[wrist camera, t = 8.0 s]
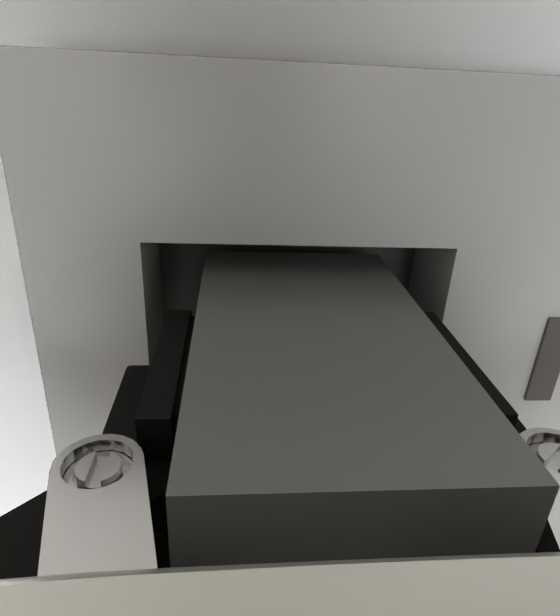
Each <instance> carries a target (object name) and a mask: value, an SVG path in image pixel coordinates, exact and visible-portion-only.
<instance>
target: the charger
mask: <svg viewBox="0 0 560 616" xmlns="http://www.w3.org/2000/svg"><path fill="white" fill-rule="evenodd" d="M559 488H560V485H559V484H558V482H557V481H556V480H555V479H554V477H553V476H552V475H551V474H550V472H549V471H548V470H547V468H546V467H545V466H544V465H543V463H542V462H541V461H540V460H539V458H538V457H537V456H536V454H535V453H534V452H533V451H532V449H531V448H530V447H529V446H528V444H527V443H526V442H525V440H524V439H523V438H522V437H521V435H520V434H519V433H518V432H517V430H516V429H515V428H514V426H513V425H512V424H511V423H510V421H509V420H508V419H507V418H506V416H505V415H504V414H503V412H502V411H501V410H500V409H499V407H498V406H497V405H496V404H495V402H494V401H493V400H492V398H491V397H490V396H489V395H488V393H487V392H486V391H485V390H484V388H483V387H482V386H481V384H480V383H479V382H478V381H477V379H476V378H475V377H474V376H473V374H472V373H471V372H470V370H469V369H468V368H467V367H466V365H465V364H464V363H463V361H462V360H461V359H460V358H459V356H458V355H457V354H456V353H455V351H454V350H453V349H452V347H451V346H450V345H449V344H448V342H447V341H446V340H445V339H444V337H443V336H442V335H441V333H440V332H439V331H438V330H437V328H436V327H435V326H434V325H433V323H432V322H431V321H430V319H429V318H428V317H427V316H426V314H425V313H424V312H423V311H422V309H421V308H420V307H419V305H418V304H417V303H416V302H415V300H414V299H413V298H412V297H411V295H410V294H409V293H408V291H407V290H406V289H405V288H404V286H403V285H402V284H401V283H400V281H399V280H398V279H397V277H396V276H395V275H394V274H393V272H392V271H391V270H390V269H389V267H388V266H387V265H386V263H385V262H384V261H383V260H382V258H381V257H380V256H379V255H378V254H347V253H292V252H238V251H206V255H205V261H204V267H203V273H202V279H201V285H200V291H199V297H198V303H197V309H196V315H195V321H194V327H193V333H192V339H191V345H190V351H189V357H188V364H187V370H186V376H185V382H184V388H183V394H182V400H181V406H180V412H179V418H178V424H177V430H176V436H175V442H174V448H173V454H172V460H171V466H170V472H169V479H168V485H167V491H166V510H167V525H168V540H169V554H170V568H174V567H196V566H218V565H240V564H262V563H284V562H306V561H330V560H355V559H379V558H404V557H430V556H456V555H482V554H510V553H535V551H536V548H537V546H538V543H539V541H540V538H541V535H542V533H543V530H544V527H545V525H546V522H547V519H548V517H549V514H550V511H551V509H552V506H553V504H554V501H555V498H556V496H557V493H558V490H559Z"/></svg>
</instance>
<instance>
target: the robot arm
mask: <svg viewBox="0 0 560 616" xmlns="http://www.w3.org/2000/svg"><path fill="white" fill-rule="evenodd" d="M424 313H425V314H426V316H427V317H428V318H429V319H430V321H431V322H432V323H433V325H434V326H435V327H436V328H437V330H438V331H439V332H440V333H441V335H442V336H443V337H444V339H445V340H446V341H447V342H448V344H449V345H450V346H451V347H452V349H453V350H454V351H455V353H456V354H457V355H458V356H459V358H460V359H461V360H462V361H463V363H464V364H465V365H466V367H467V368H468V369H469V370H470V372H471V373H472V374H473V376H474V377H475V378H476V379H477V381H478V382H479V383H480V384H481V386H482V387H483V388H484V390H485V391H486V392H487V393H488V395H489V396H490V397H491V398H492V400H493V401H494V402H495V404H496V405H497V406H498V407H499V409H500V410H501V411H502V412H503V414H504V415H505V416H506V418H507V419H508V420H509V421H510V423H511V424H512V425H513V426H514V428H515V429H516V430H517V432H518V433H519V434H520V435H521V437H522V438H523V439H524V440H525V442H526V443H527V444H528V446H529V447H530V448H531V449H532V451H533V452H534V453H535V454H536V456H537V457H538V458H539V460H540V461H541V462H542V463H543V465H544V466H545V467H546V468H547V470H548V471H549V472H550V474H551V475H552V476H553V477H554V479H555V480H556V481H557V482H558V484H559V485H560V430H556V429H551V428H540V427H535V428H530V429H526V428H525V426H524V425H523V424H522V423H521V421H520V420H519V419H518V413H517V412H516V411H515V410H514V409H513V407H512V406H511V405H510V404H509V402H508V401H507V400H506V399H505V398H504V396H503V395H502V394H501V393H500V392H499V390H498V389H497V388H496V387H495V386H494V384H493V383H492V382H491V381H490V379H489V378H488V377H487V376H486V375H485V373H484V372H483V371H482V370H481V369H480V367H479V366H478V365H477V364H476V363H475V361H474V360H473V359H472V358H471V356H470V355H469V354H468V353H467V352H466V350H465V349H464V348H463V347H462V346H461V344H460V343H459V342H458V341H457V340H456V338H455V337H454V336H453V335H452V333H451V332H450V331H449V330H448V329H447V327H446V326H445V325H444V324H443V323H442V321H441V320H440V319H439V318H438V316H437V315H436V314H435V313H434V312H424ZM194 321H195V316H192V311H191V310H167V311H166V314H165V317H164V321H163V324H162V328H161V331H160V334H159V338H158V341H157V345H156V348H155V352H154V355H153V359H152V362H151V365H129V366H127V368H126V370H125V373H124V376H123V378H122V381H121V384H120V387H119V389H118V392H117V395H116V397H115V400H114V403H113V406H112V408H111V411H110V414H109V416H108V419H107V422H106V424H105V427H104V430H103V433H102V434H101V435H95V436H91V437H87V438H83V439H81V440H79V441H77V442H75V443H73V444H71V445H69V446H68V447H67V448H65V449H64V450H63V451H61V452H60V453H59V454H58V456H57V457H56V458H55V459H54V461H53V462H52V465H51V468H50V471H49V479H48V487H47V491H45V492H43V493H41V494H40V495H38V496H36V497H34V498H33V499H31V500H29V501H27V502H26V503H24V504H22V505H20V506H18V507H17V508H15V509H13V510H11V511H10V512H8V513H6V514H4V515H3V516H1V517H0V616H560V488H559V490H558V493H557V496H556V498H555V501H554V504H553V506H552V509H551V511H550V514H549V517H548V519H547V522H546V525H545V527H544V530H543V533H542V535H541V538H540V541H539V543H538V546H537V548H536V551H535V553H510V554H482V555H456V556H430V557H404V558H379V559H355V560H330V561H306V562H284V563H262V564H240V565H218V566H196V567H174V568H170V554H169V540H168V525H167V510H166V491H167V485H168V479H169V472H170V466H171V460H172V454H173V448H174V442H175V436H176V430H177V424H178V418H179V412H180V406H181V400H182V394H183V388H184V382H185V376H186V370H187V364H188V357H189V351H190V345H191V339H192V333H193V327H194Z"/></svg>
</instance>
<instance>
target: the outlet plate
mask: <svg viewBox="0 0 560 616" xmlns="http://www.w3.org/2000/svg"><path fill="white" fill-rule="evenodd" d="M0 151H1V156H2V161H3V167H4V172H5V178H6V183H7V189H8V194H9V199H10V205H11V210H12V216H13V221H14V227H15V232H16V238H17V243H18V248H19V254H20V259H21V265H22V270H23V276H24V281H25V286H26V292H27V297H28V303H29V308H30V314H31V319H32V325H33V330H34V335H35V341H36V346H37V352H38V357H39V363H40V368H41V374H42V379H43V384H44V390H45V395H46V401H47V406H48V412H49V417H50V422H51V428H52V433H53V439H54V444H55V450H56V455H57V456H58V454H59V453H60V452H61V451H63V450H64V449H65V448H67V447H68V446H69V445H71V444H73V443H75V442H77V441H79V440H81V439H83V438H87V437H91V436H95V435H101V434H102V433H103V430H104V427H105V424H106V422H107V419H108V416H109V414H110V411H111V408H112V406H113V403H114V400H115V397H116V395H117V392H118V389H119V387H120V384H121V381H122V378H123V376H124V373H125V370H126V368H127V366H129V365H151V362H152V359H153V355H154V352H155V348H156V345H157V341H158V338H159V334H160V331H161V328H162V324H163V321H164V317H165V314H166V311H167V310H191V311H192V316H195V315H196V309H197V303H198V297H199V291H200V285H201V279H202V273H203V267H204V261H205V255H206V251H238V252H292V253H347V254H378V255H379V256H380V257H381V258H382V260H383V261H384V262H385V263H386V265H387V266H388V267H389V269H390V270H391V271H392V272H393V274H394V275H395V276H396V277H397V279H398V280H399V281H400V283H401V284H402V285H403V286H404V288H405V289H406V290H407V291H408V293H409V294H410V295H411V297H412V298H413V299H414V300H415V302H416V303H417V304H418V305H419V307H420V308H421V309H422V311H423V312H434V313H435V314H436V315H437V316H438V318H439V319H440V320H441V321H442V323H443V324H444V325H445V326H446V327H447V329H448V330H449V331H450V332H451V333H452V335H453V336H454V337H455V338H456V340H457V341H458V342H459V343H460V344H461V346H462V347H463V348H464V349H465V350H466V352H467V353H468V354H469V355H470V356H471V358H472V359H473V360H474V361H475V363H476V364H477V365H478V366H479V367H480V369H481V370H482V371H483V372H484V373H485V375H486V376H487V377H488V378H489V379H490V381H491V382H492V383H493V384H494V386H495V387H496V388H497V389H498V390H499V392H500V393H501V394H502V395H503V396H504V398H505V399H506V400H507V401H508V402H509V404H510V405H511V406H512V407H513V409H514V410H515V411H516V412H517V413H518V419H519V420H520V421H521V423H522V424H523V425H524V426H525V428H526V429H530V428H535V427H540V428H551V429H556V430H560V76H558V75H539V74H521V73H502V72H484V71H465V70H447V69H428V68H409V67H391V66H372V65H354V64H335V63H317V62H298V61H280V60H261V59H243V58H224V57H205V56H187V55H168V54H150V53H131V52H113V51H94V50H76V49H57V48H39V47H20V46H1V45H0Z"/></svg>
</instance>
